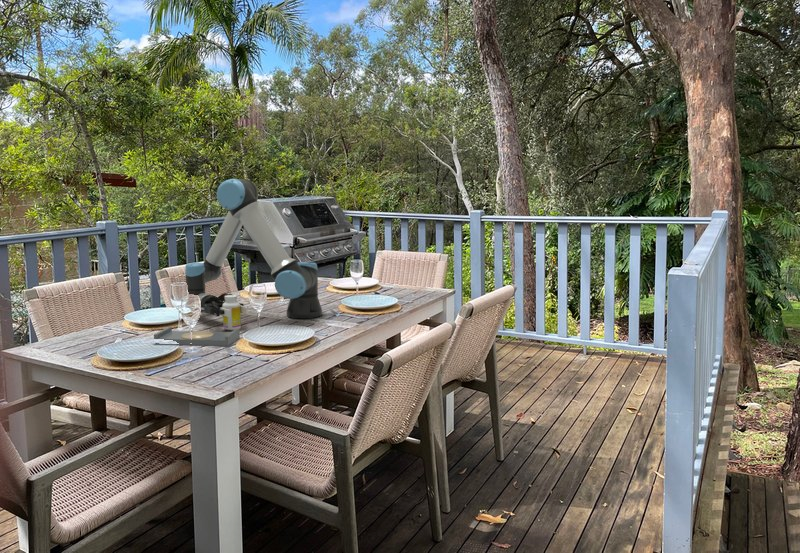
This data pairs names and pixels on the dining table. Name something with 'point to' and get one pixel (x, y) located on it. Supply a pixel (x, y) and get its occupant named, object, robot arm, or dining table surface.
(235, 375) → the dining table surface
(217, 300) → the robot arm
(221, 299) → the brown arch
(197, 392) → the dining table surface
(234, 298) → the supplement bottle
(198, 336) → the slate board
